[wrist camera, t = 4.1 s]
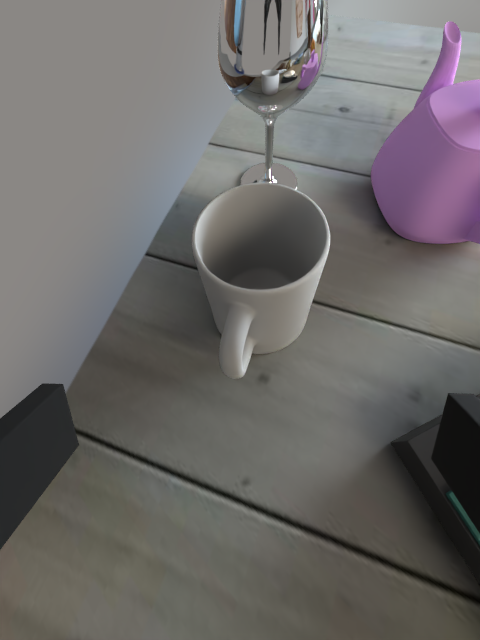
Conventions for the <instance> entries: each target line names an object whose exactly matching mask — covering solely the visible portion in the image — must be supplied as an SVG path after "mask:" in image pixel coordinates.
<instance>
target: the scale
mask: <svg viewBox="0 0 480 640" xmlns="http://www.w3.org/2000/svg"><path fill="white" fill-rule="evenodd" d="M476 397H477V398H478V399H479V400H480V394H479V395H477V396H476ZM442 415H443V414H442ZM442 415H440V416H438V417H437V418H435V419H433V420H431V421H429V422H427V423H425V424H424V425H422V426H420V427H418V428H416V429H414V430H413V431H411V432H409V433H407V434H405V435H403V436H401V437H400V438H398V439H396V440H394V441H392V442H391V444H392V446H393V448H394V449H395V451H396V452H397V454H398V456H399V457H400V459H401V460H402V462H403V464H404V465H405V467H406V468H407V470H408V471H409V473H410V475H411V476H412V478H413V479H414V481H415V483H416V484H417V486H418V487H419V489H420V491H421V492H422V494H423V495H424V497H425V499H426V500H427V502H428V503H429V505H430V506H431V508H432V510H433V511H434V513H435V514H436V516H437V518H438V519H439V521H440V522H441V524H442V526H443V527H444V529H445V530H446V532H447V534H448V535H449V537H450V538H451V540H452V541H453V543H454V545H455V546H456V548H457V549H458V551H459V553H460V554H461V556H462V557H463V559H464V561H465V562H466V564H467V565H468V567H469V569H470V570H471V572H472V573H473V575H474V577H475V578H476V580H477V581H478V583H479V584H480V533H479V532H478V530H477V529H476V527H475V526H474V524H473V523H472V521H471V519H470V518H469V516H468V515H467V513H466V512H465V510H464V509H463V507H462V506H461V504H460V503H459V501H458V499H457V498H456V496H455V495H454V493H453V492H452V490H451V489H450V487H449V486H448V484H447V483H446V481H445V479H444V478H443V476H442V475H441V473H440V472H439V470H438V469H437V467H436V466H435V464H434V463H433V461H432V459H431V456H432V452H433V449H434V445H435V441H436V437H437V434H438V430H439V426H440V422H441V419H442Z"/></svg>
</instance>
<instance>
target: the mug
mask: <svg viewBox="0 0 480 640" xmlns="http://www.w3.org/2000/svg"><path fill="white" fill-rule="evenodd" d="M329 247H330V231H329V225H328V223H327V220H326V217H325V216H324V214H323V212H322V211H321V209H320V208H319V207H318V205H317V204H316V203H315V202H314V201H313V200H311V199H310V198H309V197H308V196H306V195H305V194H303V193H301V192H300V191H298V190H296V189H293V188H291V187H288V186H285V185H280V184H276V183H262V182H259V183H249V184H244V185H240V186H237V187H234V188H231V189H229V190H227V191H225V192H223V193H221V194H219V195H218V196H216V197H215V198H214V199H213V200H211V201H210V202H209V203H208V204H207V205H206V206H205V207H204V208H203V210H202V211H201V212H200V214H199V216H198V218H197V219H196V222H195V224H194V227H193V232H192V250H193V255H194V258H195V262H196V265H197V268H198V271H199V274H200V277H201V280H202V283H203V286H204V289H205V292H206V295H207V298H208V301H209V304H210V307H211V310H212V314H213V317H214V321H215V324H216V326H217V328H218V330H219V332H220V333H221V335H222V337H221V341H220V347H219V363H220V367H221V369H222V371H223V373H224V374H225V375H227V376H228V377H230V378H234V379H238V378H241V377H243V376H244V374H245V372H246V370H247V367H248V364H249V361H250V358H251V354H252V353H253V354H267V353H273V352H276V351H279V350H281V349H283V348H285V347H286V346H288V345H290V344H291V343H292V342H293V341H294V340H295V339H296V338H297V337H298V336H299V335H300V333H301V332H302V330H303V328H304V326H305V323H306V320H307V317H308V313H309V310H310V307H311V304H312V301H313V298H314V295H315V292H316V289H317V286H318V283H319V280H320V277H321V274H322V271H323V268H324V265H325V262H326V259H327V256H328V252H329Z"/></svg>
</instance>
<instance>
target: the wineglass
mask: <svg viewBox="0 0 480 640" xmlns="http://www.w3.org/2000/svg"><path fill="white" fill-rule="evenodd" d="M327 48H328V4H327V0H221V7H220V17H219V30H218V61H219V67H220V71H221V74H222V76H223V79H224V81H225V83H226V85H227V87H228V88H229V89H230V91H231V92H232V94H233V95H234V96H235V97H236V98H237V99H238V100H239V101H240V102H241V103H242V104H243V105H245V106H246V107H248V108H249V109H251V110H252V111H254V112H256V113H257V114H259V115H260V116H261V117H262V118H263V120H264V122H265V163H261V164H258V165H255V166H253V167H251V168H250V169H248V170H247V171H246V172H245V173H244V174H243V176H242V178H241V181H240V185H244V184H249V183H259V182H262V183H276V184H280V185H285V186H288V187H291V188H293V189H297V178H296V176H295V174H294V173H293V172H292V170H290V169H289V168H288V167H286V166H284V165H281V164H278V163H273V138H274V123H275V121H276V119H277V118H278V117H279V116H280V115H281V114H282V113H284V112H285V111H287V110H288V109H290V108H292V107H293V106H295V105H296V104H297V103H298V102H300V101H301V100H302V99H303V98H304V97H305V96H306V95H307V94H308V93H309V92H310V90H311V89H312V88H313V86H314V85H315V83H316V82H317V80H318V78H319V77H320V75H321V72H322V70H323V67H324V64H325V60H326V56H327Z"/></svg>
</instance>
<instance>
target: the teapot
mask: <svg viewBox="0 0 480 640" xmlns="http://www.w3.org/2000/svg"><path fill="white" fill-rule="evenodd" d="M460 49H461V34H460V31H459V28H458V27H457V25H456V24H455V23H454V22H447V23H446V25H445V27H444V32H443V42H442V48H441V52H440V56H439V58H438V61H437V64H436V66H435V68H434V70H433V72H432V74H431V76H430V78H429V80H428V82H427V83H426V85H425V87H424V89H423V90H422V92H421V94H420V96H419V98H418V100H417V102H416V104H415V106H414V109H413V110H412V111H411V112H410V113H409V114H408V115H407V116H406V117H405V118H404V119H403V120H402V122H401V123H400V124H399V125H398V126H397V127H396V128H395V129H394V131H393V132H392V133H391V134H390V136H389V137H388V138H387V140H386V141H385V143H384V144H383V146H382V147H381V149H380V151H379V153H378V154H377V156H376V158H375V161H374V163H373V165H372V170H371V181H372V186H373V190H374V194H375V197H376V200H377V203H378V205H379V207H380V210H381V212H382V214H383V216H384V217H385V219H386V221H387V223H388V224H389V225H390V227H391V228H392V229H393V230H394V231H395V232H396V233H397V234H398V235H400V236H402V237H404V238H406V239H408V240H412V241H416V242H421V243H432V244H450V243H459V242H465V241H472V242H476V243H479V244H480V80H470V81H465V82H460V83H456V84H453V81H454V77H455V73H456V69H457V65H458V60H459V55H460Z"/></svg>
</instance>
